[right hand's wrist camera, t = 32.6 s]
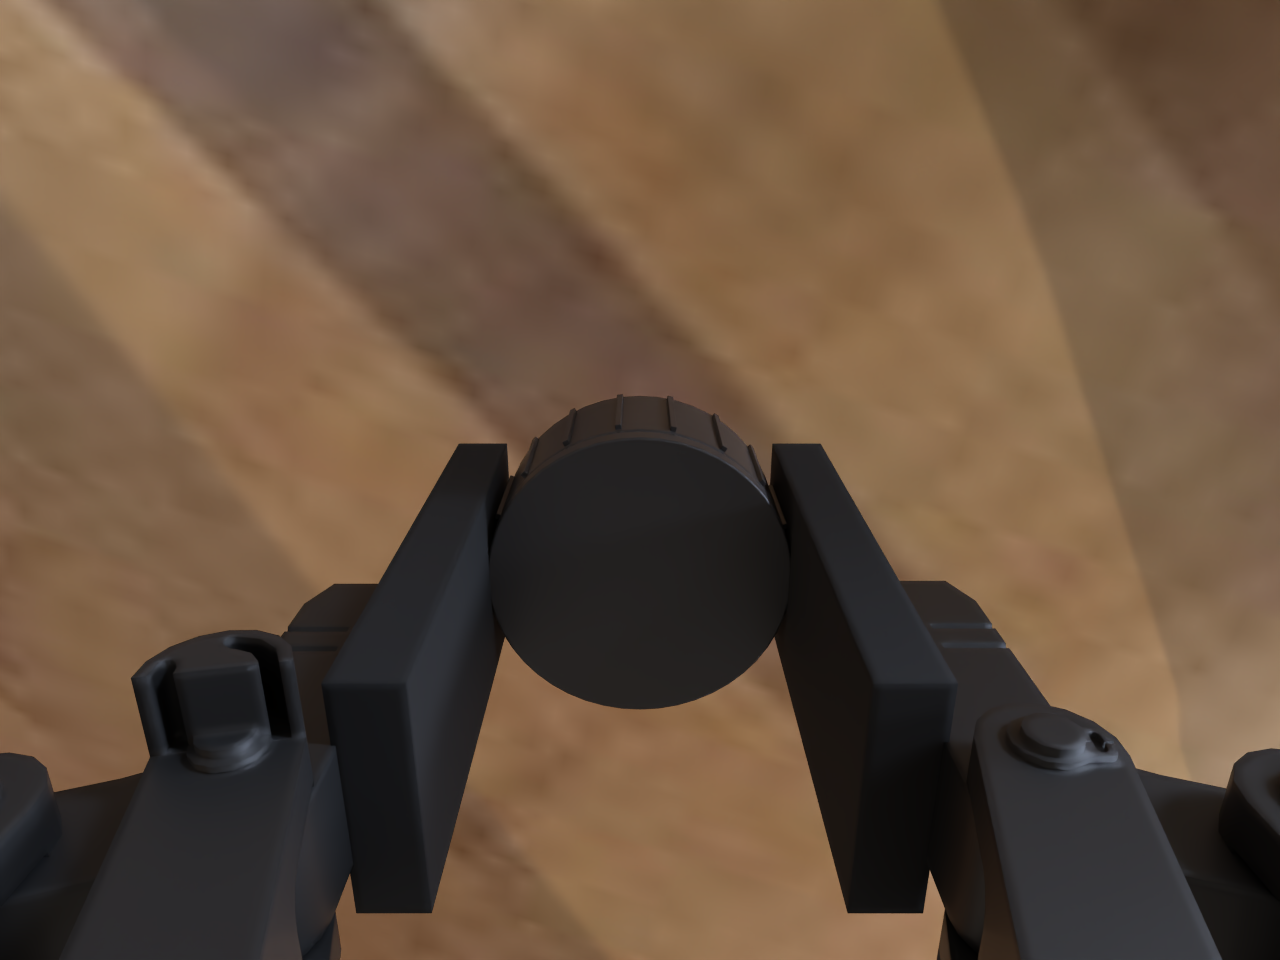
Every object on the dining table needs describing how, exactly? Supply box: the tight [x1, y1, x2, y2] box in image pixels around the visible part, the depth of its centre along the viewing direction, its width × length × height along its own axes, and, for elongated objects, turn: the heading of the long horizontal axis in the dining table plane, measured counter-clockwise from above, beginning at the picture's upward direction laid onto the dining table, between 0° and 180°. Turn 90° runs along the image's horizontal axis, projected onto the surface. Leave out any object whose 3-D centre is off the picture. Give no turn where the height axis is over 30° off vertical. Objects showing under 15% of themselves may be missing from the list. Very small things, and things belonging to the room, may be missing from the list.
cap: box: [489, 394, 791, 709], centre depth 13 cm, size 4×4×2 cm
